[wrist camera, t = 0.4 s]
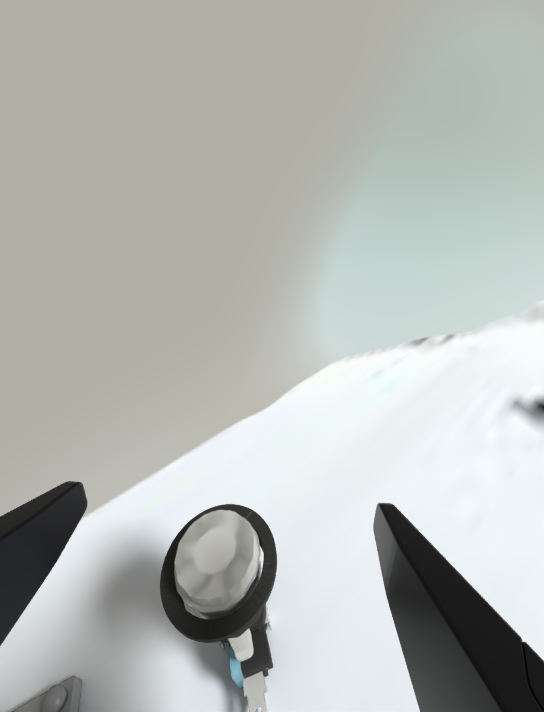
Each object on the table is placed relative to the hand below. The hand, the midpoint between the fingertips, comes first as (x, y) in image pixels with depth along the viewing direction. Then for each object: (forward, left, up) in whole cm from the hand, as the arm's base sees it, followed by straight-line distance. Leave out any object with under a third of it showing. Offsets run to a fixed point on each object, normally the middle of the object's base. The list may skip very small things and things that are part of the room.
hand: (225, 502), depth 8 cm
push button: (+1, +2, -16) cm, 16 cm away
